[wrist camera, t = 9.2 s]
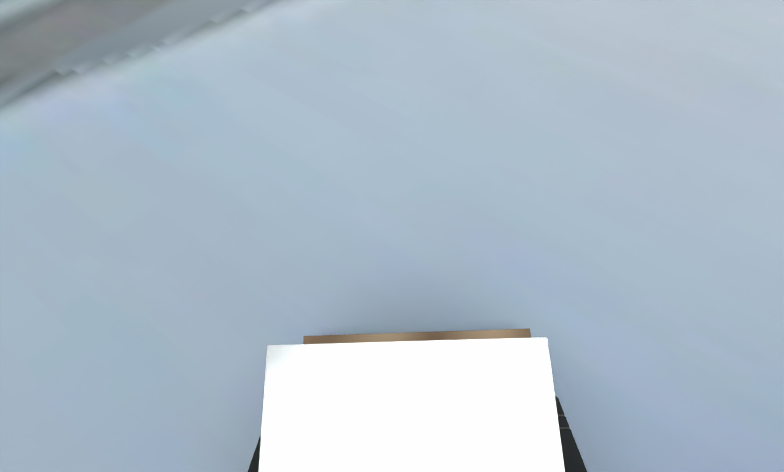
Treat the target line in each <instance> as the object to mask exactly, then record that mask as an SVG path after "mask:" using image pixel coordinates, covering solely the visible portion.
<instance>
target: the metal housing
mask: <svg viewBox="0 0 784 472" xmlns="http://www.w3.org/2000/svg"><path fill="white" fill-rule="evenodd" d="M259 472H565V470H564V463H563V455H562V447H561V440H560V432H559V424H558V417H557V409H556V401H555V394H554V386H553V379H552V371H551V363H550V356H549V348H548V340H547V337H539V338H505V339H471V340H437V341H403V342H369V343H335V344H301V345H267V359H266V374H265V388H264V402H263V417H262V431H261V445H260V460H259Z"/></svg>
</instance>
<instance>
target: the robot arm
mask: <svg viewBox="0 0 784 472" xmlns="http://www.w3.org/2000/svg"><path fill="white" fill-rule="evenodd" d="M555 401H556V409H557V417H558V424H559V432H560V440H561V447H562V455H563V463H564V470H565V472H587V470H586V468H585V465H584V463H583V460H582V458H581V455H580V453H579V450H578V448H577V445H576V443H575V440H574V437H573V435H572V432H571V430H570V429H569V425H568V422H567V420H566V417H564V412H563V410H562V407H561V404H560V402H559V399H558V398H557V397H556V396H555ZM260 445H261V436H260V438H259V441H258V444H257V447H256V450H255V452H254V455H253V458H252V461H251V464H250V467H249V470H248V472H259V460H260Z"/></svg>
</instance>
